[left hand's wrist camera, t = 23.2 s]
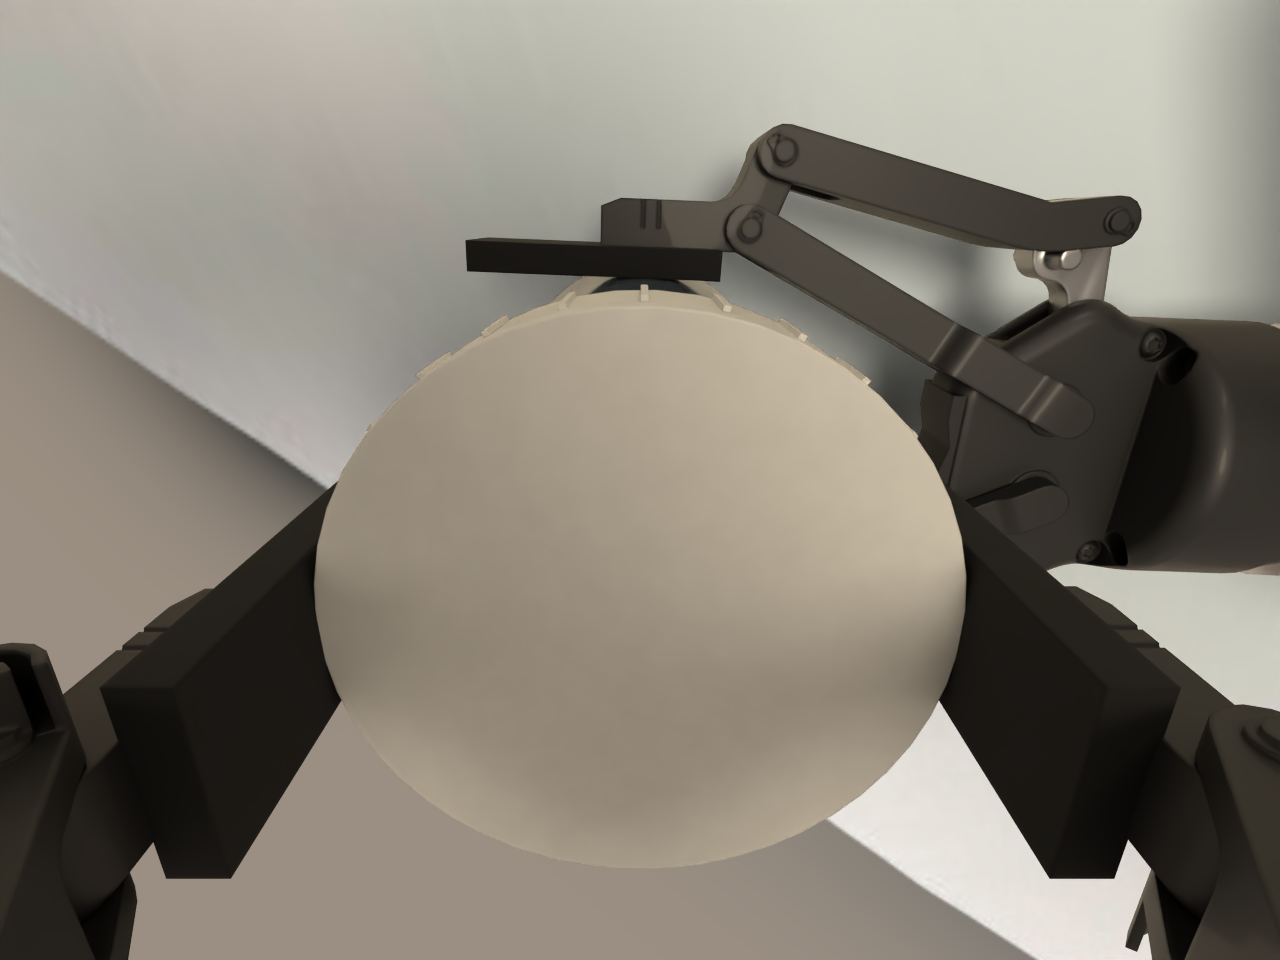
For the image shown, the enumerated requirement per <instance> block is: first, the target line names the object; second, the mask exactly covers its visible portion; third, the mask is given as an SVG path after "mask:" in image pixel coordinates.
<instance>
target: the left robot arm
mask: <svg viewBox="0 0 1280 960" xmlns="http://www.w3.org/2000/svg"><path fill="white" fill-rule="evenodd" d="M942 482H943V481H942ZM337 483H338V481H337V482H336V483H335V484H334V485H333V486H332V487H331V488H329V489H328V490H327V491H326V492H325V493H324V494H322V495H321V496H320V497H319V498H318V499H317V500H316V501H314V502H313V503H312V504H311V505H310V506H309V507H308V508H306V509H305V510H304V511H303V512H302V513H301V514H299V515H298V516H297V517H296V518H295V519H294V520H292V521H291V522H290V523H289V524H288V525H287V526H286V527H284V528H283V529H282V530H281V531H280V532H279V533H278V534H276V535H275V536H274V537H273V538H272V539H271V540H269V541H268V542H267V543H266V544H265V545H264V546H262V547H261V548H260V549H259V550H258V551H257V552H256V553H254V554H253V555H252V556H251V557H250V558H249V559H247V560H246V561H245V562H244V563H243V564H242V565H241V566H239V567H238V568H237V569H236V570H235V571H234V572H232V573H231V574H230V575H229V576H228V577H227V578H225V579H224V580H223V581H222V582H221V583H220V584H219V585H217V586H216V587H215V588H214V589H204V590H202V591H200V592H198V593H196V594H194V595H192V596H190V597H188V598H186V599H184V600H182V601H180V602H178V603H176V604H174V605H172V606H170V607H169V608H168V609H166V610H165V611H164V612H163V613H162V614H160V615H159V616H158V617H157V618H155V619H154V620H153V621H152V622H151V623H149V624H148V625H147V626H146V627H145V628H144V632H138V633H137V634H136V635H135V636H134V637H132V638H131V639H130V640H129V641H128V642H126V643H125V644H124V645H123V646H122V647H123V648H122V650H117V651H115V652H114V653H113V654H112V655H111V656H109V657H108V658H107V659H106V660H105V661H103V662H102V663H101V664H100V665H98V666H97V667H96V668H95V669H94V670H92V671H91V672H90V673H89V674H88V675H86V676H85V677H84V678H83V679H81V680H80V681H79V682H78V683H77V684H75V685H74V686H73V687H72V688H70V689H69V690H68V691H67V692H66V693H64V694H62V691H61V688H60V686H59V683H58V680H57V678H56V675H55V672H54V670H53V667H52V664H51V662H50V659H49V656H48V654H47V651H46V650H44V649H42V648H40V647H39V646H37V645H35V644H24V643H8V644H1V645H0V960H128V956H129V950H130V944H131V937H132V931H133V925H134V918H135V912H136V905H137V897H136V890H135V885H134V882H133V880H132V877H131V874H130V871H131V870H132V868H133V867H134V866H135V865H136V863H137V862H138V861H139V859H140V858H141V857H142V856H143V854H144V853H145V852H146V850H147V849H148V848H149V847H150V845H151V844H152V843H153V842H154V845H155V848H156V851H157V854H158V856H159V859H160V862H161V865H162V868H163V871H164V874H165V876H166V878H167V879H231V877H232V876H233V874H234V873H235V871H236V869H237V868H238V866H239V865H240V863H241V861H242V860H243V858H244V856H245V855H246V853H247V852H248V850H249V848H250V847H251V845H252V844H253V842H254V840H255V839H256V837H257V836H258V834H259V832H260V831H261V829H262V828H263V826H264V824H265V823H266V821H267V819H268V818H269V816H270V815H271V813H272V811H273V810H274V808H275V807H276V805H277V803H278V802H279V800H280V798H281V797H282V795H283V794H284V792H285V790H286V789H287V787H288V786H289V784H290V782H291V781H292V779H293V777H294V776H295V774H296V773H297V771H298V770H299V768H300V766H301V765H302V763H303V761H304V760H305V758H306V757H307V755H308V753H309V752H310V750H311V749H312V747H313V745H314V744H315V742H316V740H317V739H318V737H319V736H320V734H321V732H322V731H323V729H324V728H325V726H326V724H327V723H328V721H329V720H330V718H331V716H332V715H333V713H334V711H335V710H336V708H337V707H338V705H339V703H340V702H341V698H340V696H339V694H338V693H337V691H336V688H335V685H334V683H333V680H332V677H331V675H330V672H329V669H328V667H327V664H326V661H325V656H324V651H323V646H322V642H321V637H320V632H319V627H318V622H317V616H316V610H315V595H314V577H315V566H316V554H317V545H318V541H319V537H320V533H321V529H322V525H323V521H324V517H325V513H326V509H327V506H328V504H329V502H330V499H331V497H332V495H333V492H334V490H335V488H336V485H337ZM943 485H944V487H945V489H946V491H947V493H948V495H949V497H950V499H951V503H952V506H953V510H954V513H955V517H956V520H957V524H958V527H959V531H960V534H961V537H962V545H963V553H964V561H965V569H966V603H965V615H964V620H963V625H962V630H961V635H960V640H959V645H958V650H957V654H956V659H955V662H954V665H953V668H952V671H951V673H950V676H949V679H948V682H947V685H946V687H945V689H944V691H943V693H942V695H941V697H940V699H939V701H940V703H941V704H942V706H943V708H944V709H945V711H946V712H947V714H948V716H949V717H950V719H951V720H952V722H953V724H954V725H955V727H956V729H957V730H958V732H959V733H960V735H961V737H962V738H963V740H964V741H965V743H966V745H967V746H968V748H969V749H970V751H971V753H972V754H973V756H974V757H975V759H976V761H977V762H978V764H979V766H980V767H981V769H982V770H983V772H984V774H985V775H986V777H987V778H988V780H989V782H990V783H991V785H992V786H993V788H994V790H995V791H996V793H997V795H998V796H999V798H1000V799H1001V801H1002V803H1003V804H1004V806H1005V807H1006V809H1007V811H1008V812H1009V814H1010V815H1011V817H1012V819H1013V820H1014V822H1015V824H1016V825H1017V827H1018V828H1019V830H1020V832H1021V833H1022V835H1023V836H1024V838H1025V840H1026V841H1027V843H1028V844H1029V846H1030V848H1031V849H1032V851H1033V853H1034V854H1035V856H1036V857H1037V859H1038V861H1039V862H1040V864H1041V865H1042V867H1043V869H1044V870H1045V872H1046V873H1047V875H1048V877H1049V878H1050V879H1114V878H1115V875H1116V872H1117V869H1118V867H1119V864H1120V861H1121V858H1122V855H1123V852H1124V849H1125V847H1126V844H1127V841H1128V840H1129V841H1130V842H1131V844H1132V845H1133V846H1134V847H1135V849H1136V850H1137V851H1138V852H1139V854H1140V855H1141V856H1142V858H1143V859H1144V860H1145V861H1146V863H1147V864H1148V865H1149V866H1150V868H1151V872H1150V874H1149V877H1148V880H1147V882H1146V885H1145V888H1144V890H1143V893H1142V895H1141V898H1140V901H1139V903H1138V906H1137V909H1136V911H1135V914H1134V917H1133V919H1132V922H1131V925H1130V927H1129V930H1128V934H1127V940H1126V946H1125V947H1127V948H1129V949H1132V950H1134V951H1136V952H1137V950H1138V948H1139V945H1140V943H1141V940H1142V938H1143V935H1145V934H1147V933H1148V935H1149V941H1150V948H1151V954H1152V960H1280V712H1279V711H1276V710H1273V709H1268V708H1262V707H1256V706H1250V705H1244V704H1243V705H1234V704H1233V703H1232V702H1230V701H1229V700H1228V699H1227V698H1226V697H1224V696H1223V695H1222V694H1221V693H1219V692H1218V691H1217V690H1216V689H1215V688H1213V687H1212V686H1211V685H1210V684H1208V683H1207V682H1206V681H1205V680H1204V679H1202V678H1201V677H1200V676H1199V675H1197V674H1196V673H1195V672H1194V671H1192V670H1191V669H1190V668H1189V667H1188V666H1186V665H1185V664H1184V663H1183V662H1181V661H1180V660H1179V659H1178V658H1177V657H1175V656H1174V655H1173V654H1172V653H1170V652H1169V651H1168V650H1167V649H1166V648H1160V647H1159V643H1158V642H1157V641H1156V640H1155V639H1153V638H1152V637H1151V636H1150V635H1148V634H1147V633H1146V632H1145V631H1144V630H1138V628H1137V625H1136V624H1135V623H1134V622H1133V621H1131V620H1130V619H1129V618H1128V617H1126V616H1125V615H1124V614H1123V613H1121V612H1120V611H1119V610H1118V609H1117V608H1115V607H1114V606H1113V605H1112V604H1110V603H1108V602H1106V601H1104V600H1102V599H1100V598H1098V597H1096V596H1094V595H1092V594H1090V593H1088V592H1086V591H1084V590H1082V589H1080V588H1078V587H1076V586H1063V585H1062V584H1061V583H1060V582H1058V581H1057V580H1056V579H1055V578H1054V577H1053V576H1052V575H1050V574H1049V573H1048V572H1047V571H1046V570H1045V569H1043V568H1042V567H1041V566H1040V565H1039V564H1038V563H1037V562H1035V561H1034V560H1033V559H1032V558H1031V557H1030V556H1028V555H1027V554H1026V553H1025V552H1024V551H1023V550H1022V549H1020V548H1019V547H1018V546H1017V545H1016V544H1015V543H1013V542H1012V541H1011V540H1010V539H1009V538H1008V537H1007V536H1005V535H1004V534H1003V533H1002V532H1001V531H1000V530H998V529H997V528H996V527H995V526H994V525H993V524H992V523H990V522H989V521H988V520H987V519H986V518H985V517H983V516H982V515H981V514H980V513H979V512H978V511H976V510H975V509H974V508H973V507H972V506H971V505H970V504H968V503H967V502H966V501H965V500H964V499H963V498H961V497H960V496H959V495H958V494H957V493H956V492H955V491H953V490H952V489H951V488H950V487H949V486H948V485H946V484H945V483H944V482H943Z"/></svg>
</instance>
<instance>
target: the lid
mask: <svg viewBox="0 0 1280 960" xmlns="http://www.w3.org/2000/svg"><path fill="white" fill-rule="evenodd" d="M481 334H482V335H481V336H480V337H478V338H477V339H475V340H473V341H472V342H470V343H469V344H467V345H466V346H464V347H463V348H461V349H460V350H459V351H457V352H456V353H454V354H453V355H452V354H451V353H450V352H447V353H446V354H444V355H443V356H442V357H440V358H439V359H437V360H436V361H434V362H433V363H431V364H430V365H428V366H427V367H426V368H424V369H423V370H421V371H420V372H419V373H418V374H416V377H417V378H418V379H419V381H417V382H416V383H415V384H414V385H413V386H412V387H410V388H409V389H408V390H407V391H406V392H405V393H403V394H402V395H401V396H400V397H399V398H398V399H397V400H395V401H394V402H393V403H392V404H391V405H390V407H389V408H388V409H387V410H386V411H385V412H384V414H383V415H382V416H381V417H380V418H379V419H377V420H376V421H375V422H373V423H372V424H371V425H370V426H369V427H368V429H367V431H368V432H367V433H366V435H365V436H364V437H363V439H362V441H361V442H360V444H359V445H358V447H357V449H356V450H355V452H354V453H353V455H352V457H351V458H350V460H349V461H348V463H347V465H346V466H345V468H344V469H343V471H342V473H341V476H340V478H339V480H338V483H337V485H336V488H335V490H334V492H333V495H332V497H331V499H330V502H329V504H328V506H327V509H326V513H325V517H324V521H323V525H322V529H321V533H320V537H319V541H318V545H317V554H316V566H315V577H314V595H315V610H316V616H317V622H318V627H319V632H320V637H321V642H322V646H323V651H324V656H325V661H326V664H327V667H328V669H329V672H330V675H331V677H332V680H333V683H334V685H335V688H336V691H337V693H338V694H339V696H340V698H341V700H342V702H343V704H344V706H345V707H346V709H347V711H348V713H349V715H350V717H351V718H352V720H353V722H354V724H355V725H356V726H357V728H358V729H359V730H360V732H361V733H362V734H363V736H364V737H365V739H366V740H367V741H368V743H369V744H370V746H371V747H372V748H373V750H374V751H375V752H376V753H377V754H378V755H379V756H380V758H381V759H382V760H383V761H384V762H385V763H386V764H387V765H388V766H389V767H390V768H391V769H392V770H393V771H394V772H395V774H396V775H397V776H398V777H399V778H400V779H402V780H403V781H404V782H405V783H406V784H408V785H409V786H410V787H411V788H412V789H414V790H415V791H416V792H417V793H418V794H419V795H421V796H422V797H423V798H424V799H425V800H427V801H428V802H430V803H431V804H433V805H434V806H436V807H437V808H439V809H440V810H442V811H443V812H445V813H446V814H448V815H449V816H451V817H452V818H454V819H455V820H457V821H459V822H461V823H463V824H465V825H467V826H469V827H470V828H472V829H474V830H476V831H478V832H480V833H482V834H484V835H486V836H488V837H490V838H493V839H495V840H498V841H500V842H503V843H505V844H508V845H510V846H513V847H515V848H518V849H520V850H524V851H527V852H531V853H534V854H538V855H541V856H545V857H548V858H552V859H555V860H561V861H566V862H572V863H578V864H583V865H588V866H597V867H609V868H621V869H663V868H672V867H682V866H691V865H699V864H704V863H709V862H714V861H719V860H723V859H728V858H733V857H737V856H740V855H743V854H746V853H750V852H753V851H756V850H759V849H762V848H766V847H769V846H771V845H773V844H776V843H778V842H780V841H783V840H785V839H787V838H790V837H792V836H795V835H797V834H799V833H801V832H803V831H805V830H807V829H808V828H810V827H812V826H814V825H816V824H818V823H819V822H821V821H823V820H825V819H827V818H828V817H830V816H832V815H833V814H835V813H836V812H838V811H839V810H841V809H842V808H843V807H845V806H846V805H848V804H849V803H850V802H852V801H853V800H855V799H856V798H858V797H859V796H860V795H862V794H863V793H864V792H865V791H866V790H867V789H868V788H869V787H871V786H872V785H873V784H874V783H875V782H876V781H877V780H878V779H880V778H881V777H882V776H883V775H884V774H885V773H886V772H887V771H888V770H889V769H890V768H891V767H892V766H893V765H894V764H895V762H896V761H897V760H898V759H899V758H900V757H901V756H902V755H903V753H904V752H905V751H906V750H907V749H908V748H909V747H910V746H911V744H912V743H913V741H914V740H915V738H916V737H917V735H918V734H919V732H920V731H921V730H922V728H923V727H924V725H925V724H926V722H927V721H928V719H929V718H930V716H931V715H932V713H933V711H934V709H935V707H936V705H937V703H938V701H939V699H940V697H941V695H942V693H943V691H944V689H945V687H946V685H947V682H948V679H949V676H950V673H951V671H952V668H953V665H954V662H955V659H956V654H957V650H958V645H959V640H960V635H961V630H962V625H963V620H964V615H965V603H966V569H965V561H964V553H963V545H962V537H961V534H960V531H959V527H958V524H957V520H956V517H955V513H954V510H953V506H952V503H951V499H950V497H949V495H948V493H947V491H946V489H945V487H944V485H943V482H942V480H941V478H940V476H939V474H938V472H937V470H936V467H935V465H934V463H933V462H932V460H931V459H930V457H929V456H928V454H927V453H926V451H925V450H924V448H923V447H922V445H921V444H920V442H919V441H918V439H917V438H918V436H917V434H916V433H915V431H913V430H912V429H911V428H910V427H909V426H908V425H907V424H906V423H905V422H904V421H903V420H902V419H901V418H900V417H899V416H898V415H897V413H896V412H895V411H894V410H893V409H892V408H891V407H890V406H889V405H888V404H887V403H886V402H885V400H884V399H883V398H882V397H881V396H880V395H879V394H878V393H876V392H875V391H874V390H873V389H871V388H870V387H869V386H868V384H869V383H870V382H871V380H870V379H868V378H867V377H866V376H865V375H863V374H862V373H860V372H859V371H858V370H856V369H855V368H853V367H852V366H850V365H849V364H847V363H846V362H845V361H843V360H842V359H840V358H839V357H836V358H835V359H833V358H831V357H830V356H829V355H827V354H826V353H824V352H823V351H822V350H820V349H819V348H818V347H816V346H815V345H813V344H812V343H811V342H809V341H808V340H806V339H807V337H808V336H807V335H806V334H804V333H803V332H801V331H800V330H798V329H797V328H796V327H794V326H793V325H791V324H790V323H788V322H787V321H785V320H783V319H782V318H780V319H779V321H778V323H777V322H776V321H774V320H771V319H769V318H766V317H764V316H762V315H759V314H757V313H754V312H752V311H750V310H747V309H745V308H742V307H740V306H737V305H734V304H730V303H728V302H727V301H726V300H725V299H724V298H723V297H721V296H720V295H719V294H715V293H713V296H712V299H711V298H707V297H703V296H699V295H694V294H685V293H677V292H669V291H660V290H648V285H641V290H624V291H609V292H602V293H596V294H589V295H583V296H576V293H575V291H574V292H570V293H568V294H567V295H566V296H565V297H564V298H563V299H562V300H561V301H558V302H555V303H551V304H548V305H544V306H541V307H538V308H534V309H532V310H530V311H528V312H525V313H523V314H521V315H519V316H517V317H514V318H512V319H510V318H509V317H508V315H505V316H503V317H501V318H500V319H498V320H497V321H495V322H494V323H493V324H491V325H490V326H488V327H487V328H485V329H484V330H483V331H481Z"/></svg>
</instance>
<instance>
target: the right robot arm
mask: <svg viewBox="0 0 1280 960" xmlns="http://www.w3.org/2000/svg"><path fill="white" fill-rule="evenodd" d="M789 191H792V192H795V193H798V194H802V195H805V196H809V197H812V198H816V199H819V200H823V201H826V202H829V203H833V204H836V205H840V206H843V207H847V208H850V209H854V210H857V211H860V212H864V213H867V214H871V215H874V216H878V217H881V218H885V219H888V220H892V221H895V222H898V223H902V224H905V225H909V226H912V227H916V228H919V229H923V230H926V231H929V232H933V233H936V234H940V235H943V236H947V237H950V238H954V239H957V240H960V241H964V242H967V243H971V244H976V245H980V246H985V247H995V248H1006V249H1015V251H1014V254H1013V257H1014V261H1015V263H1016V266H1017V269H1018V271H1019V272H1020V273H1021V274H1022V275H1024V276H1026V277H1031V278H1036V279H1039V280H1041V281H1042V282H1043V283H1044V284H1045V285H1046V286H1047V289H1048V292H1049V299H1048V300H1046V301H1044V302H1042V303H1041V304H1039V305H1037V306H1036V307H1034V308H1032V309H1031V310H1029V311H1027V312H1026V313H1024V314H1022V315H1021V316H1019V317H1017V318H1016V319H1014V320H1012V321H1011V322H1009V323H1007V324H1006V325H1004V326H1002V327H1001V328H999V329H997V330H996V331H994V332H992V333H991V334H989V335H987V336H986V337H982V336H980V335H979V334H977V333H975V332H973V331H971V330H969V329H967V328H965V327H963V326H961V325H959V324H957V323H955V322H954V321H952V320H950V319H949V318H947V317H945V316H944V315H942V314H940V313H939V312H937V311H935V310H934V309H932V308H930V307H929V306H927V305H926V304H924V303H922V302H921V301H919V300H917V299H916V298H914V297H912V296H911V295H909V294H907V293H906V292H904V291H902V290H901V289H899V288H897V287H896V286H894V285H892V284H891V283H889V282H887V281H886V280H884V279H882V278H881V277H879V276H877V275H876V274H874V273H873V272H871V271H869V270H868V269H866V268H864V267H863V266H861V265H859V264H858V263H856V262H854V261H853V260H851V259H849V258H848V257H846V256H844V255H843V254H841V253H839V252H838V251H836V250H834V249H833V248H831V247H829V246H828V245H826V244H824V243H823V242H821V241H820V240H818V239H816V238H815V237H813V236H811V235H810V234H808V233H806V232H805V231H803V230H801V229H800V228H798V227H796V226H795V225H793V224H791V223H790V222H788V221H786V220H785V219H783V218H781V217H780V216H778V215H779V213H780V210H781V208H782V206H783V204H784V201H785V199H786V197H787V195H788V193H789ZM1140 222H1141V208H1140V206H1139V204H1138V202H1137V201H1136V200H1134V199H1133V198H1131V197H1128V196H1105V197H1085V198H1064V199H1054V200H1043V199H1040V198H1036V197H1033V196H1029V195H1026V194H1023V193H1019V192H1016V191H1013V190H1009V189H1006V188H1003V187H999V186H996V185H993V184H989V183H986V182H983V181H979V180H976V179H973V178H969V177H966V176H963V175H959V174H956V173H953V172H949V171H946V170H943V169H939V168H936V167H933V166H929V165H926V164H923V163H919V162H916V161H913V160H909V159H906V158H903V157H899V156H896V155H893V154H889V153H886V152H883V151H879V150H876V149H873V148H869V147H866V146H863V145H859V144H856V143H853V142H849V141H846V140H843V139H839V138H836V137H833V136H829V135H826V134H823V133H819V132H816V131H813V130H809V129H806V128H803V127H799V126H796V125H793V124H781V125H778V126H776V127H773V128H772V129H770V130H769V131H767V132H766V133H765V134H763V135H762V136H760V137H759V138H757V139H756V140H755V141H754V142H753V143H752V144H751V145H750V147H749V149H748V151H747V153H746V160H745V162H744V164H743V167H742V169H741V171H740V174H739V176H738V179H737V181H736V183H735V185H734V187H733V189H732V190H731V191H730V193H729V194H728V195H727V196H725V197H724V198H723V199H721V200H719V201H715V202H705V201H681V200H658V199H635V198H620V199H617V200H614V201H612V202H609V203H607V204H604V205H601V242H582V241H558V240H534V239H510V238H480V239H472V240H466V258H467V271H473V272H497V273H521V274H546V275H570V276H595V277H619V278H643V279H668V280H692V281H716V282H720V276H721V264H722V252H736V253H737V254H739V255H741V256H742V257H744V258H746V259H748V260H749V261H751V262H753V263H754V264H756V265H758V266H760V267H761V268H763V269H765V270H766V271H768V272H770V273H771V274H773V275H775V276H777V277H778V278H780V279H782V280H783V281H785V282H787V283H789V284H790V285H792V286H794V287H795V288H797V289H799V290H801V291H802V292H804V293H806V294H807V295H809V296H811V297H812V298H814V299H816V300H818V301H819V302H821V303H823V304H824V305H826V306H828V307H830V308H831V309H833V310H835V311H836V312H838V313H840V314H842V315H843V316H845V317H847V318H848V319H850V320H852V321H853V322H855V323H857V324H859V325H860V326H862V327H864V328H865V329H867V330H869V331H871V332H872V333H874V334H876V335H877V336H879V337H881V338H883V339H884V340H886V341H888V342H889V343H891V344H893V345H895V346H896V347H898V348H900V349H901V350H902V351H904V352H906V353H907V354H909V355H911V356H912V357H914V358H916V359H918V360H919V361H921V362H923V363H924V364H926V365H928V366H930V367H931V368H933V369H935V370H936V371H937V373H936V374H935V376H934V378H933V380H925V383H924V388H923V393H922V398H921V403H920V405H921V417H922V430H921V432H920V434H919V436H918V441H919V442H920V444H921V445H922V447H923V448H924V450H925V451H926V453H927V454H928V456H929V457H930V459H931V460H932V462H933V463H934V465H935V467H936V470H937V472H938V474H939V476H940V478H941V480H942V481H943V482H944V483H945V484H946V485H948V486H949V487H950V488H951V489H952V490H953V491H955V492H956V493H957V494H958V495H959V496H960V497H961V498H963V499H964V500H965V501H966V502H967V503H968V504H970V505H971V506H972V507H973V508H974V509H975V510H976V511H978V512H979V513H980V514H981V515H982V516H983V517H985V518H986V519H987V520H988V521H989V522H990V523H992V524H993V525H994V526H995V527H996V528H997V529H998V530H1000V531H1001V532H1002V533H1003V534H1004V535H1005V536H1007V537H1008V538H1009V539H1010V540H1011V541H1012V542H1013V543H1015V544H1016V545H1017V546H1018V547H1019V548H1020V549H1022V550H1023V551H1024V552H1025V553H1026V554H1027V555H1028V556H1030V557H1031V558H1032V559H1033V560H1034V561H1035V562H1037V563H1038V564H1039V565H1040V566H1041V567H1042V568H1043V569H1045V570H1046V571H1047V570H1050V569H1052V568H1055V567H1058V566H1062V565H1066V564H1073V563H1077V564H1086V565H1093V566H1099V567H1106V568H1113V569H1122V570H1144V571H1173V572H1201V573H1236V572H1242V573H1245V574H1260V575H1277V576H1280V323H1276V324H1271V325H1267V324H1263V323H1259V322H1249V321H1227V320H1202V319H1177V318H1152V317H1129V316H1127V315H1125V314H1123V313H1122V312H1121V311H1119V310H1118V309H1117V308H1116V307H1114V306H1113V305H1111V304H1109V303H1107V302H1105V301H1104V295H1105V288H1106V282H1107V275H1108V268H1109V261H1110V255H1111V248H1112V247H1113V246H1117V245H1120V244H1123V243H1125V242H1126V241H1127V240H1129V239H1130V238H1132V236H1133V235H1134V234H1135V232H1136V231H1137V230H1138V228H1139V225H1140Z"/></svg>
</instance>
